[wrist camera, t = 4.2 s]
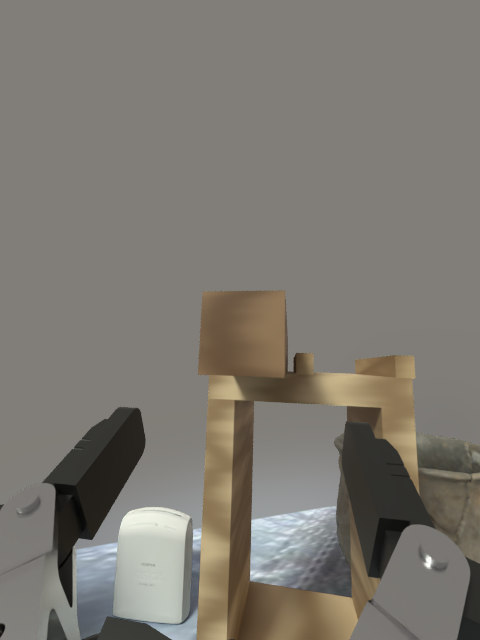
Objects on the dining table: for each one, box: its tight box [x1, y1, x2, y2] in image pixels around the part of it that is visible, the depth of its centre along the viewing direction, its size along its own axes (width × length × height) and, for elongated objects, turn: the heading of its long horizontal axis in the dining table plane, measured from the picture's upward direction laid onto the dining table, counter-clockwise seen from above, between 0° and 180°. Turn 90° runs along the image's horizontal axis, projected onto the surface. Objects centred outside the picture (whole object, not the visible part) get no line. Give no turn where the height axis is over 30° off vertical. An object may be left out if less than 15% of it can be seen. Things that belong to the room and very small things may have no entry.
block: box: [198, 291, 288, 378], centre depth 25 cm, size 4×24×4 cm, turn 170°
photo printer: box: [113, 507, 193, 624], centre depth 39 cm, size 10×4×12 cm, turn 84°
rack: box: [197, 353, 420, 640], centre depth 24 cm, size 14×12×34 cm
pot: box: [334, 433, 480, 569], centre depth 42 cm, size 25×24×21 cm
